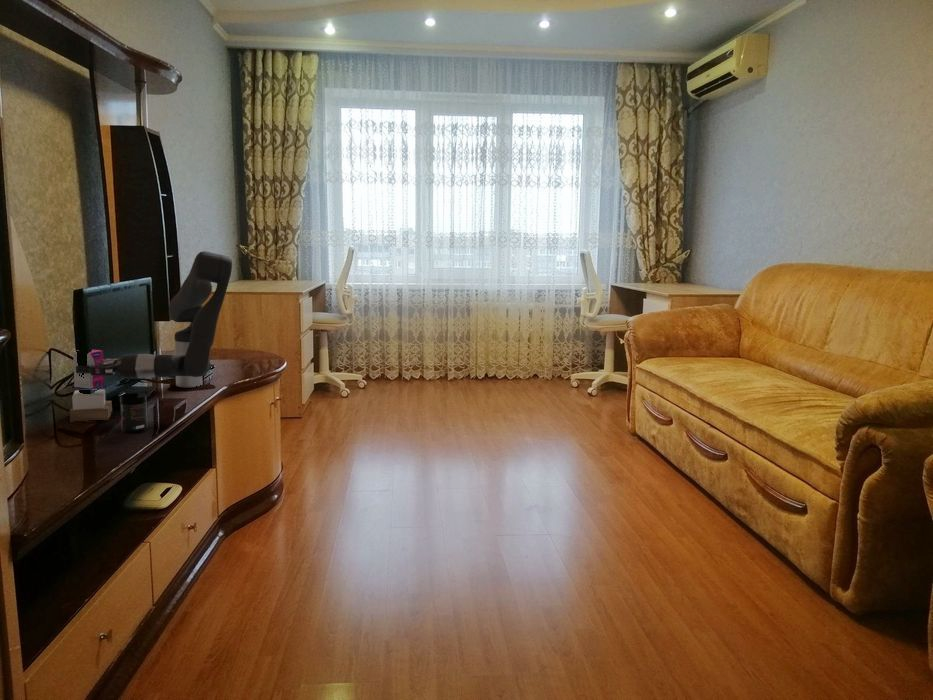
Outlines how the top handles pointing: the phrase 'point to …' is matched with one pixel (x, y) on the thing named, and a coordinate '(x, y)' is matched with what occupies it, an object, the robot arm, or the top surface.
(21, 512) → the top surface
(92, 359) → the supplement box
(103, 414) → the cream base block
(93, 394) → the pale grey top block
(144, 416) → the supplement container
